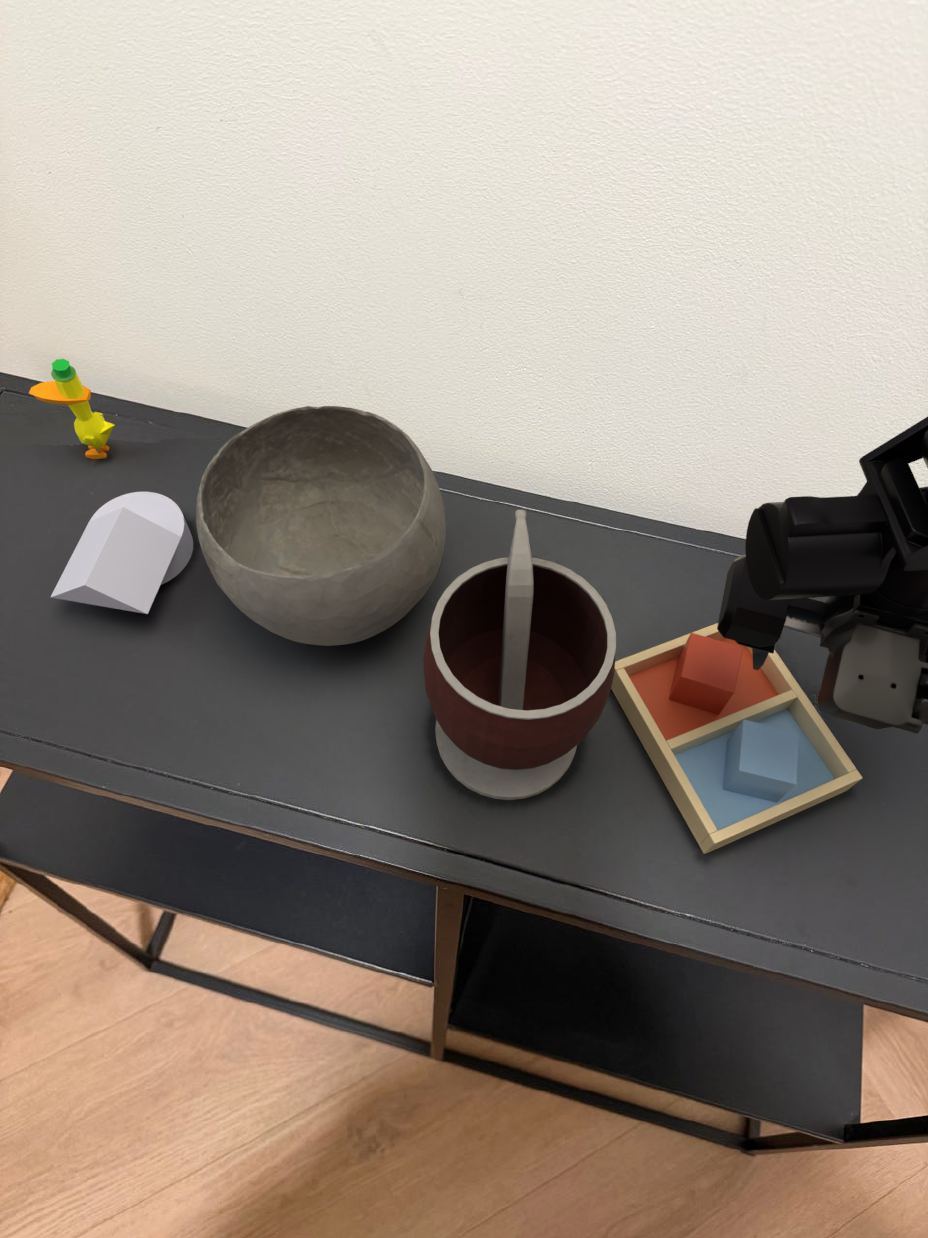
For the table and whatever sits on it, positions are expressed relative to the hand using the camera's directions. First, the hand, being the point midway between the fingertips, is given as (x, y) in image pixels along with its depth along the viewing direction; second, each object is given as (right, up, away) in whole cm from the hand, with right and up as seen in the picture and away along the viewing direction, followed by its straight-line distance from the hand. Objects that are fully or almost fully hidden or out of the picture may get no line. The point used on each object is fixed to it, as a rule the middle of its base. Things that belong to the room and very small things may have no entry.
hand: (814, 681), depth 65 cm
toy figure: (-66, +22, +22) cm, 73 cm away
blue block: (-3, -8, +5) cm, 10 cm away
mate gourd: (-24, -4, +7) cm, 25 cm away
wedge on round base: (-59, +10, +15) cm, 61 cm away
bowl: (-39, +8, +14) cm, 43 cm away
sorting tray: (-5, -5, +7) cm, 10 cm away
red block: (-7, -1, +8) cm, 11 cm away
